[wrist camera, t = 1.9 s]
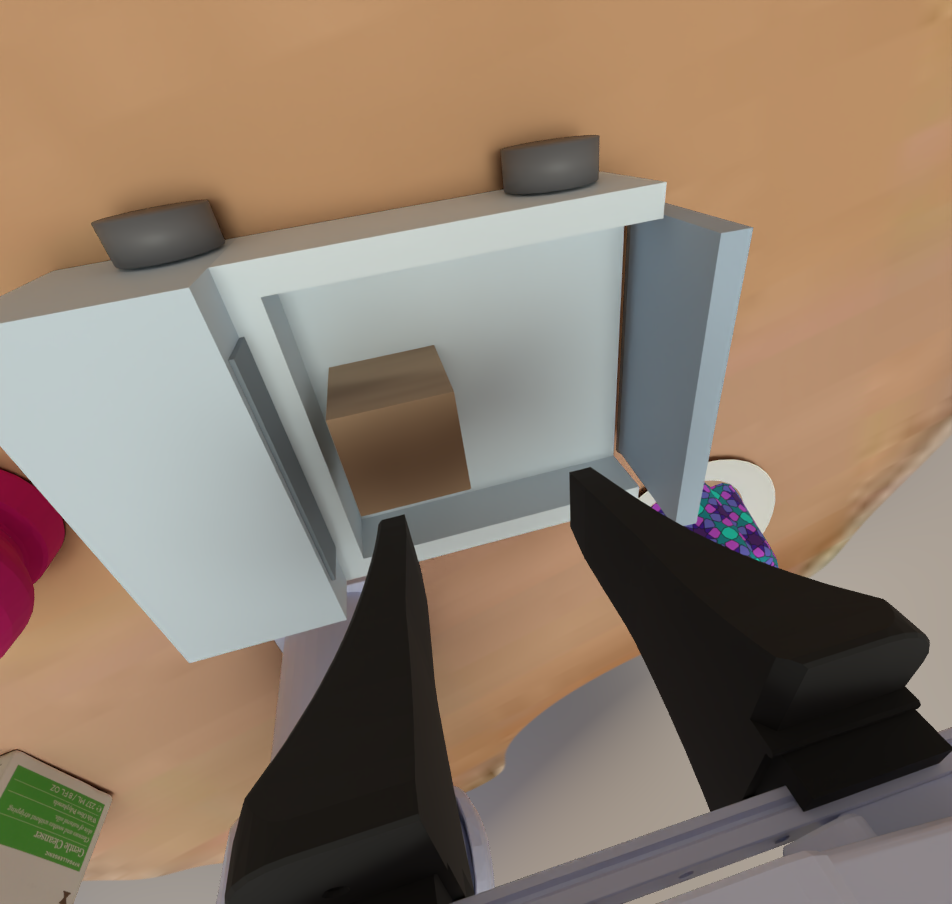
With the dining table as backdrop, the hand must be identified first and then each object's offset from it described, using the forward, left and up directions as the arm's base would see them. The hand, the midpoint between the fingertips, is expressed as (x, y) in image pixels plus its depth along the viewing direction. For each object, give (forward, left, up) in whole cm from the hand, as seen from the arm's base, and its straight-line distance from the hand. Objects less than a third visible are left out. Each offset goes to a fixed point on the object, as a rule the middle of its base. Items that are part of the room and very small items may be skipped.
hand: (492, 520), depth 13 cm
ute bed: (0, +2, -10) cm, 10 cm away
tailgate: (0, -9, -6) cm, 11 cm away
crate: (0, +2, -8) cm, 8 cm away
